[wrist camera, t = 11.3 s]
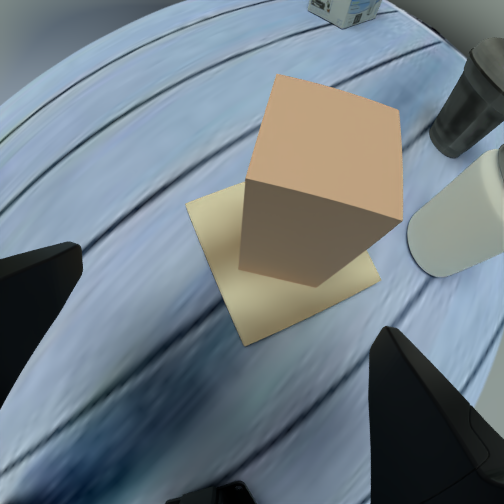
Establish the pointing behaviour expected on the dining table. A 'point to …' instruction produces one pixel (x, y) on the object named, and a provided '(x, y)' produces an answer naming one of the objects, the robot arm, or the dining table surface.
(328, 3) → the light bulb box
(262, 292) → the brass board
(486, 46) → the beverage cup
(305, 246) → the tall block
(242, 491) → the robot arm
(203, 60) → the dining table surface
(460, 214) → the can
